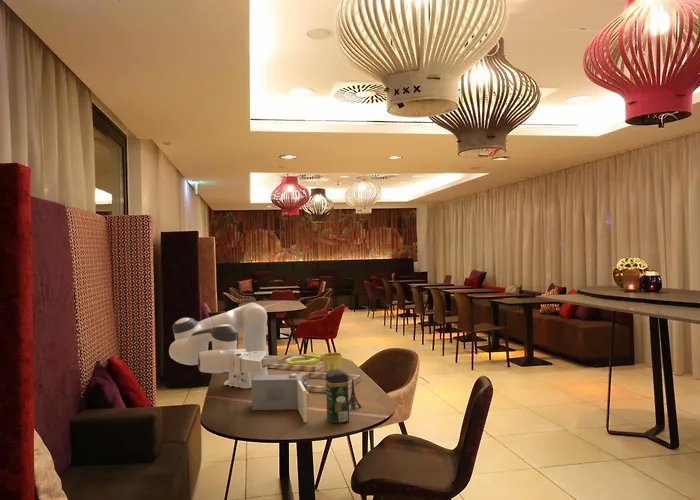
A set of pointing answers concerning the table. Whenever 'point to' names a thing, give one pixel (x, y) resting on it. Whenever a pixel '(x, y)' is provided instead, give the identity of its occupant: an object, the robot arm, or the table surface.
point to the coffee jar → (337, 396)
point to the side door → (302, 399)
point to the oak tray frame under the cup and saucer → (323, 375)
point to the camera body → (275, 391)
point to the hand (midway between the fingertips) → (276, 359)
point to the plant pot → (332, 361)
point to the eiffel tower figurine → (353, 401)
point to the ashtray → (304, 360)
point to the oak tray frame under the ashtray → (294, 367)
